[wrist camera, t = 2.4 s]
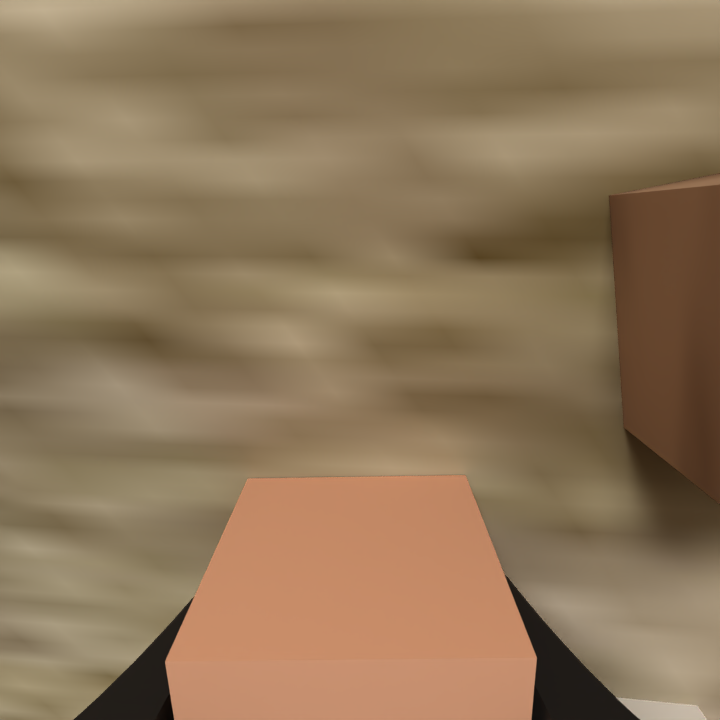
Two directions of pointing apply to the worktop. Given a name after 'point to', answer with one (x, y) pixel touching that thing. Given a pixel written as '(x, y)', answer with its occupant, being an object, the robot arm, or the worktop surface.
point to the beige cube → (662, 710)
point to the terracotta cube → (353, 609)
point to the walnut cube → (671, 322)
